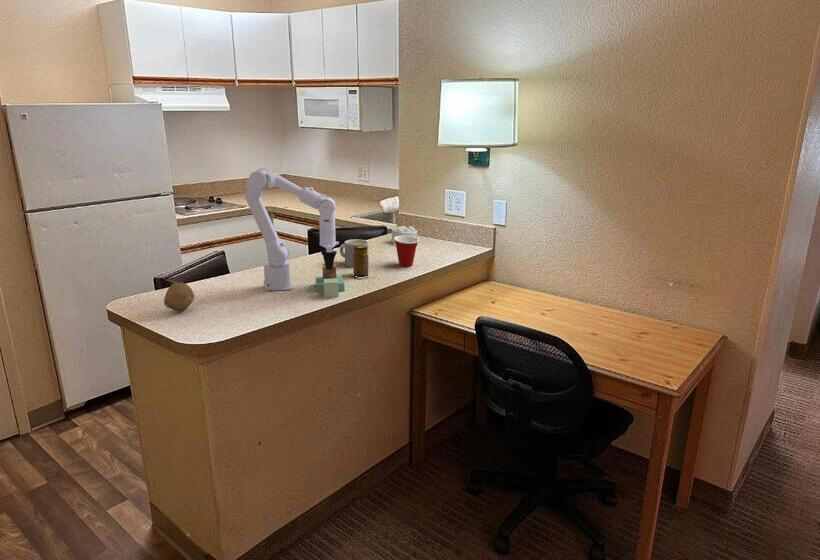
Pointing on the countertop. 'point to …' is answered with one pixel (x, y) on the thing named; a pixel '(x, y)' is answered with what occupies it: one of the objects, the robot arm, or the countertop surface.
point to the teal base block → (321, 286)
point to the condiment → (360, 262)
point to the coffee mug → (351, 250)
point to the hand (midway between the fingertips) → (328, 266)
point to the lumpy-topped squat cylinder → (403, 232)
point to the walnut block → (329, 272)
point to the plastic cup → (406, 249)
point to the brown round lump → (179, 297)
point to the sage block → (331, 287)
